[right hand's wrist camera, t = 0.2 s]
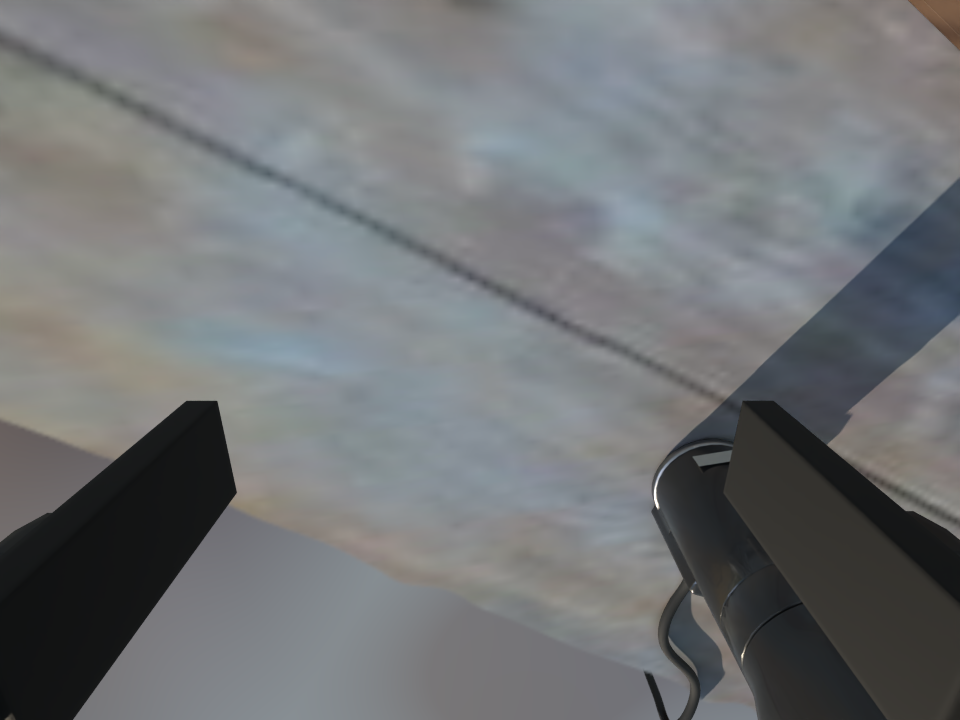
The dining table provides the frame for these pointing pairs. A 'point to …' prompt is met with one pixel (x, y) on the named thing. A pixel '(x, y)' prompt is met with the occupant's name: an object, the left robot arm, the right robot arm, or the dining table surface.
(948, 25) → the cabinet
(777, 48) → the dining table surface
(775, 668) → the left robot arm
